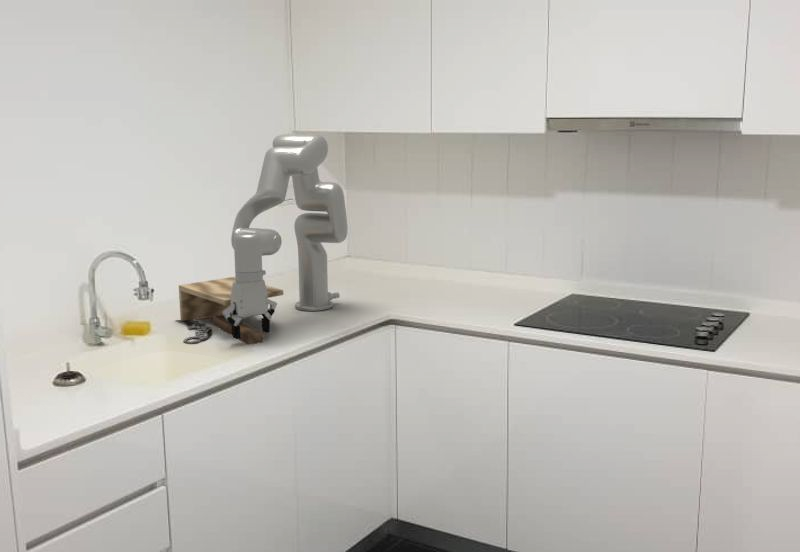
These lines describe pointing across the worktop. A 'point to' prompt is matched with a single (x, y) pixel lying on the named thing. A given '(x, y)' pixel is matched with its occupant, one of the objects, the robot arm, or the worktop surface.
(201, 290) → the riser
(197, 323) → the grey crescent piece
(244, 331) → the batten
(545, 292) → the worktop surface
